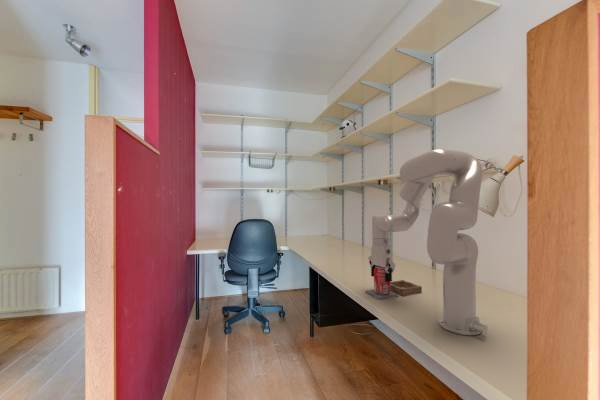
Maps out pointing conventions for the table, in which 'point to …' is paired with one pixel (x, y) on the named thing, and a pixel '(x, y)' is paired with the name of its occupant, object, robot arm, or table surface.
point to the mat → (379, 296)
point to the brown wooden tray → (408, 289)
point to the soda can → (380, 281)
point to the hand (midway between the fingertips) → (381, 278)
